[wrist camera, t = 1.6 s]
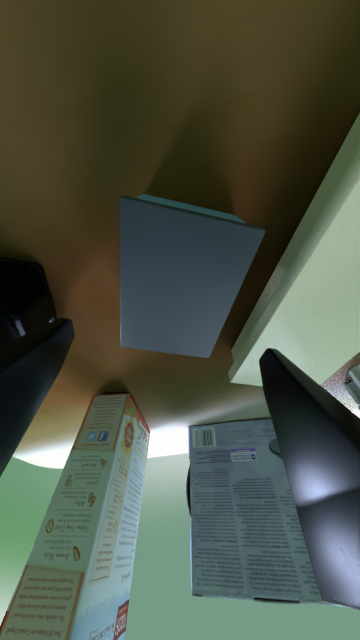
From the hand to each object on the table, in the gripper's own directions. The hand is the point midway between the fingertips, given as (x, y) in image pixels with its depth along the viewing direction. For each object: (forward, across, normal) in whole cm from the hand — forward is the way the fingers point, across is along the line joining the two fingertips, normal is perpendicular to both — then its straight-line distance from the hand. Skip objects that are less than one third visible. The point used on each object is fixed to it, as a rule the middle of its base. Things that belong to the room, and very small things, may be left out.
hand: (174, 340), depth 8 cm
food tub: (+8, 0, 0) cm, 8 cm away
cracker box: (+9, +4, +27) cm, 29 cm away
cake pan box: (+9, -16, +28) cm, 33 cm away
